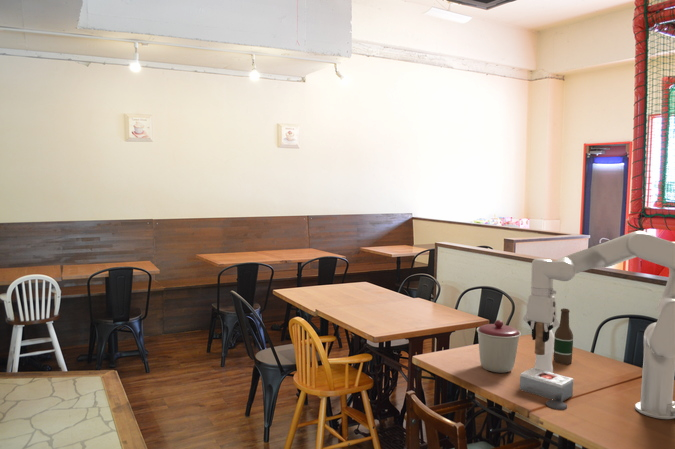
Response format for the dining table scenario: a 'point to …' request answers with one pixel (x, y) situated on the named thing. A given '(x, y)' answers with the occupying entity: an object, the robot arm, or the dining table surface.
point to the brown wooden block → (539, 339)
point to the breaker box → (546, 384)
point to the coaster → (556, 404)
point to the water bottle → (546, 355)
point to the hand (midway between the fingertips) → (540, 339)
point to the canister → (498, 346)
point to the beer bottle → (563, 340)
